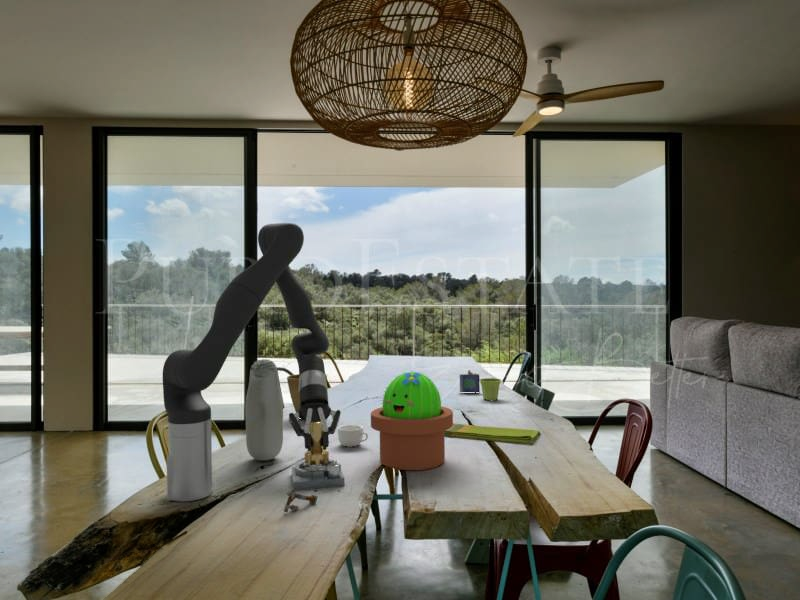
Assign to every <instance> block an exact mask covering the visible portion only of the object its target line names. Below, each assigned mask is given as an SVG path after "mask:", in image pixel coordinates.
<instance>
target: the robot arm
mask: <svg viewBox="0 0 800 600" xmlns="http://www.w3.org/2000/svg"><path fill="white" fill-rule="evenodd" d="M257 234H258V235H257V243H258V246H259V249H260V252H261V254H262V256H261V257H260V258H259V259H258V260H256V261H255V262H254V263H252V264H250V266H248V267H246V268H245V269H244V270H242V271H241V272H240V273H238V274H237V275H236V276H235V277H234V278H232V280H231V281H230V282H229V283H228V285H227V286H226V288H225V289H224V291H223V292H222V293H221V295H220V296H219V298H218V299H217V301H216V304H215V307H214V312H213V313H214V314H213V317H212V318H213V319H212V324H211V325H210V328H209V329H208V332H207V333H206V334H205V336H204V337H203V339H202V340H201V342H199V344H198V345H197V346H196V347H195V348H194V349H177V350H175V351H173V352H171V353H170V354H169V355H168V356H167V358H166V359H165V361H164V363H163V367H162V392H163V405H164V408H165V412H166V415H167V419H168V420H167V421H168V422H167V423H168V424H167V427H168V431H167V432H168V433H167V435H168V456H167V457H166V492H167V493H166V500H167V501H169V502H170V501H173V502H175V501H176V502H192V501H196V500H201V499H204V498H206V497H208V496H210V495H211V494H212V493H213V464H212V463H213V460H212V459H213V457H212V456H213V453H212V452H213V451H212V447H213V446H212V445H213V444H212V409H211V406H210V405H209V403H207V402H206V400H205V399H204V397H203V395H202V391H204V390H206V389H208V388H209V387H210V386H211V385H212V384H213V383H214V381H215V380H216V379H217V377H218V375H219V373H220V372H221V370H222V368H223V366H224V364H225V362H226V361H227V359H228V357H229V354H230V352H231V351H232V350H233V349H232V348H233V347H234V345H235V344H236V343H237V340H238V339H239V338H240V336H241V335H242V333H243V332H244V330H245V328H246V326H248V324H249V323H250V322H251V320H252V318H253V317H254V315H255V314H256V312H257V311H258V309H259V308H260V307H261V305H262V303H263V301H264V300H265V298H266V297H267V295H268V294H269V292H270V291H271V290H272V288H273V287H274V285H275V284H277V287H278V289H279V291H280V294H281V297H282V299H283V303H284V305H285V309H286V311H287V315H288V317H289V322H290V325H291V326H292V327H293V328H294V329H303V330H304V329H305V330H309V331H308V332H303V333H299V334H295V335H294V336H293V338H292V339H291V343H290V344H291V345H290V347H291V350H292V352H293V354H294V357H295V359H296V362H297V366H298V374H299V401H300V408H299V410H298V412H297V413H296V412H295V413H293V412H290V413H288V421H289V423H290V425H291V426H292V428H293V431H294V432H295V434H296V436H297V437H303V440H304V449H307V450H308V451H311V440H310V422H311V421H322V422H323V450H326V451H327V448H328V447H329V444H330V441H329V436H330V435H334V434H335V432H336V429H337V428H338V427H337V426H338V423H339V421H340V419H341V414H342V413H341V410H340V409H337V410H333V409H332V408H331V407H330V405H329V404H330V403H329V394H328V384H327V381H326V378H325V374H326V373H325V371H326V370H325V363H324V360H323V358H322V357H320V356H319V355H322V354H326V353H327V352H328V350H329V347H330V346H329V345H330V343H329V342H330V341H329V339H328V336H327V334H326V332H325V331H324V330H323V328H322V327H321V325H320V324H319V322H318V319H317V318H316V316H315V313H314V312H315V311H314V308H313V305H312V302H311V298H310V295H309V294H308V292H307V290H306V289H305V287H304V286H303V284H302V283H301V281H299V279H298V278H297V277H296V275H295V273H294V272H293V270H292V269H291V267H290V264H291V263H292V262H293V261H294V260H295V259H296V257H297V256H298V255H299V253H300V252H301V251H302V248H303V245H304V240H305V239H304V238H305V237H304V232H303V229H302V228H301V227H300V226H299V225H298V224H296V223H292V222H277V223H276V222H275V223H267V224H265V225H263V226H261V228H260V230H259V231H258V233H257ZM330 416H331V420H332V421H331V423H330V426H329V427H328V424H327V419H328V418H329V417H330ZM298 417H300V418H301V419H302V420H301V421H303V422H304V423H305V425H304V428H302V426H301V425H300V423H299V419H298Z"/></svg>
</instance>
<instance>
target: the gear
mask: <svg viewBox="0 0 800 600" xmlns="http://www.w3.org/2000/svg"><path fill="white" fill-rule="evenodd" d="M309 434H310V440H311V451H308V449H307V450H306V452H304V461H305V463H307V465H310V466H313V465H316V466H318V465H321V464H326V463H327V462H329V459H330V458H329V457H330V455H329V454H330V452H329V450H327V449H326V450H323V422H322V421H311V422H310V433H309Z"/></svg>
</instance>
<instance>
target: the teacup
mask: <svg viewBox="0 0 800 600" xmlns="http://www.w3.org/2000/svg"><path fill="white" fill-rule="evenodd" d="M364 435H365V439H363V438H364ZM337 438H338V439H337V440H338V442H339V443H340V445H341V446H343V447H345V446H347V447H346V448H353V447H352V446H355V447H357V445H358V446H359V445H360V444H361V443H363V442H365V441H367V440H368V438H369V436H368V433H367V432H365V431H364V426H363V425H359V424H344V425H339V426H338V427H337Z"/></svg>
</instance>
